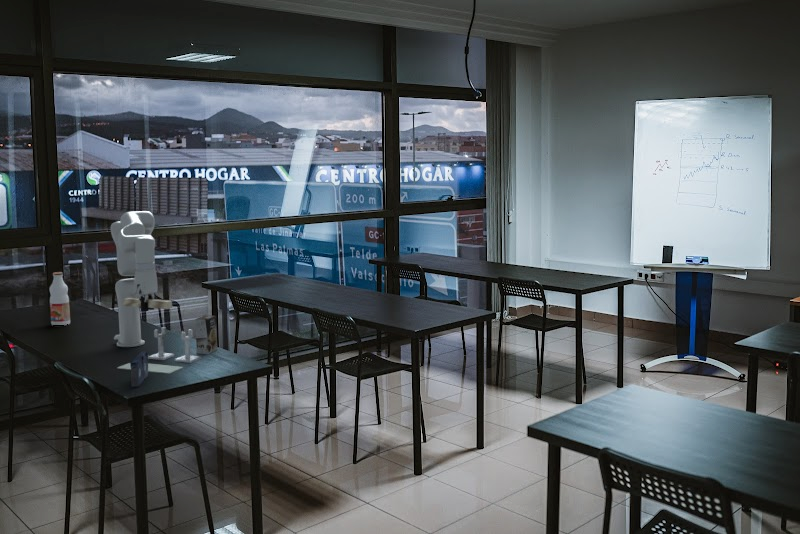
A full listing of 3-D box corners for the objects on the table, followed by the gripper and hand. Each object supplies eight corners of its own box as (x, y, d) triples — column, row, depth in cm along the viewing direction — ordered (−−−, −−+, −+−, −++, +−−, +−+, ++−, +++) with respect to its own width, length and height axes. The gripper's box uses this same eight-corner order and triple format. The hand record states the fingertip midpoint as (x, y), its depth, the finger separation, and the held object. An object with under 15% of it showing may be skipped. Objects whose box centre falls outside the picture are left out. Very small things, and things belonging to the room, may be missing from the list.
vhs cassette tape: (142, 374, 328) (141, 351, 326) (150, 374, 328) (148, 351, 326) (130, 387, 309) (128, 362, 308) (137, 387, 310) (136, 362, 308)
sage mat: (117, 368, 337) (117, 367, 337) (132, 362, 347) (132, 361, 347) (169, 373, 329) (169, 372, 329) (183, 367, 338) (183, 366, 338)
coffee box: (209, 354, 361) (208, 319, 359) (196, 353, 362) (194, 318, 360) (217, 349, 370) (216, 315, 368) (204, 349, 371) (203, 314, 369)
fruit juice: (72, 324, 426) (69, 272, 423) (54, 327, 421) (51, 274, 417) (67, 321, 434) (64, 270, 430) (49, 324, 428) (45, 272, 424)
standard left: (148, 358, 353) (146, 329, 352) (159, 354, 361) (157, 326, 359) (163, 360, 351) (161, 331, 349) (174, 356, 358) (173, 327, 356)
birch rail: (123, 305, 336) (123, 298, 336) (128, 304, 339) (127, 297, 339) (167, 309, 329) (167, 301, 329) (172, 307, 332) (171, 300, 331)
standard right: (174, 361, 349) (173, 332, 347) (185, 357, 356) (184, 328, 354) (190, 362, 346) (189, 333, 344) (201, 358, 353) (199, 329, 352)
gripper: (150, 263, 341) (152, 306, 343) (125, 268, 325) (127, 313, 328) (165, 264, 338) (167, 307, 341) (140, 269, 323) (142, 314, 325)
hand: (147, 309), depth 334 cm, fingers closed on birch rail, 3 cm apart
